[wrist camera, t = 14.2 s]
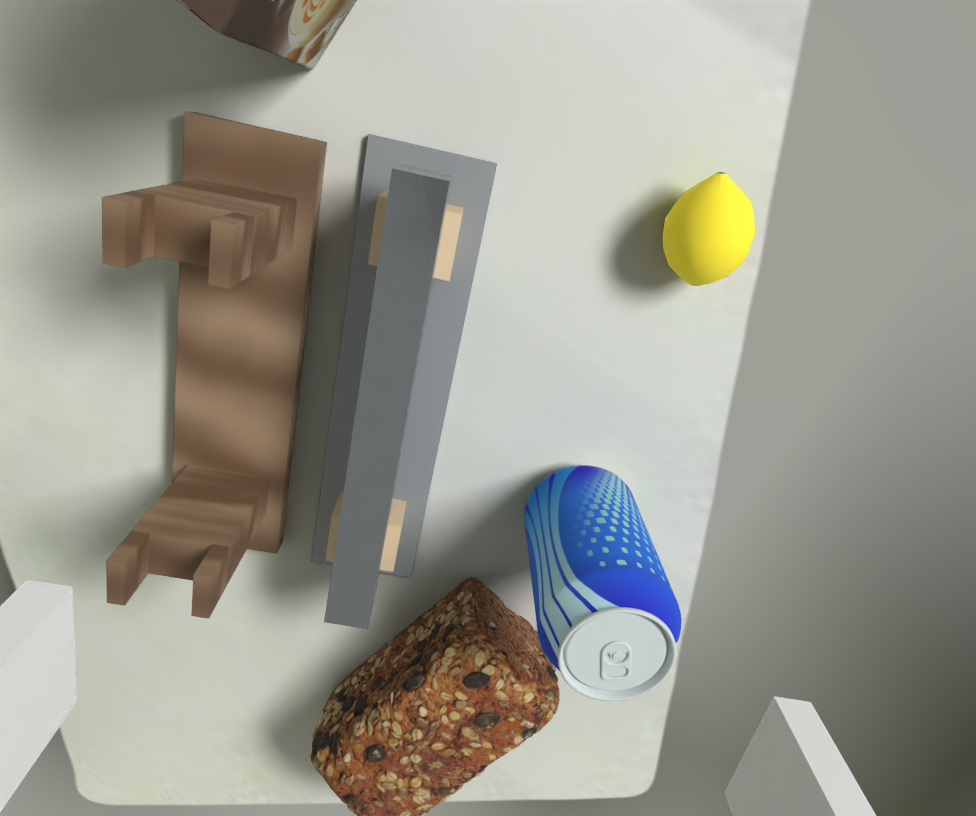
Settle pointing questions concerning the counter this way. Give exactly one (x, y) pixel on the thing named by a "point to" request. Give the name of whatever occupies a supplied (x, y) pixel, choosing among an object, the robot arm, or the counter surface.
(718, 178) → the lemon
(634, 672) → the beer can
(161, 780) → the counter surface
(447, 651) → the bread
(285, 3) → the coffee box
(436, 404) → the slate mat with oak rests
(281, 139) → the walnut rack
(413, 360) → the steel rail
